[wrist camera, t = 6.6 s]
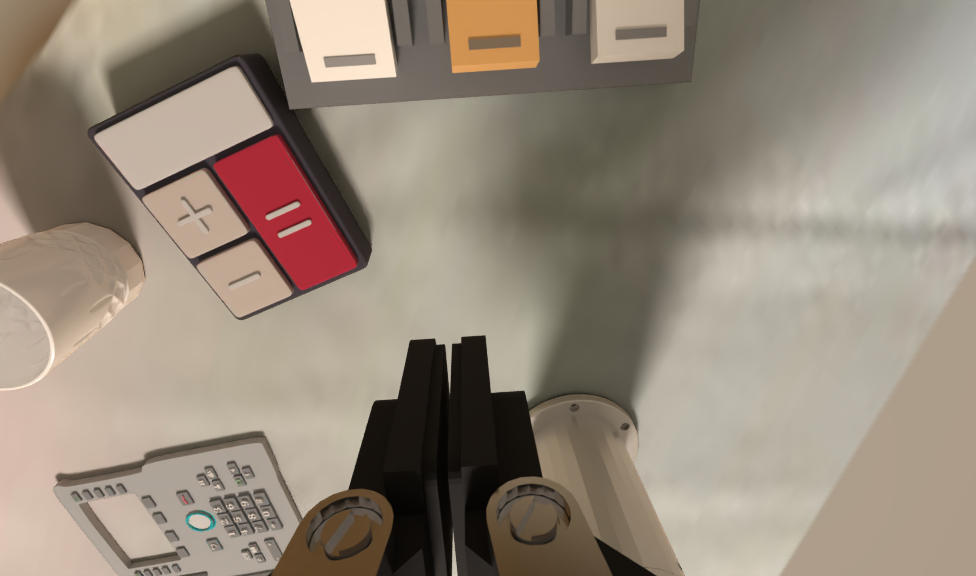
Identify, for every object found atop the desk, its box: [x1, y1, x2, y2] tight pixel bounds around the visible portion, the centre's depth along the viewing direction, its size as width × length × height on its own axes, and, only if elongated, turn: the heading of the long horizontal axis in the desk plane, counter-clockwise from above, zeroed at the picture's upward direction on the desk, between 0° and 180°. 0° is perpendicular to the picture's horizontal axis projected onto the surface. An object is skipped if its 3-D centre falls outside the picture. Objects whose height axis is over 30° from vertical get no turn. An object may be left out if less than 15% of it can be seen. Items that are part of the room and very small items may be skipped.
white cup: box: [0, 222, 145, 390], centre depth 31 cm, size 8×8×10 cm
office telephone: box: [53, 437, 302, 576], centre depth 47 cm, size 23×3×20 cm
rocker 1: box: [290, 0, 398, 82], centre depth 25 cm, size 5×6×2 cm
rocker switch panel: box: [265, 0, 700, 109], centre depth 28 cm, size 25×9×5 cm, turn 93°
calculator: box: [88, 54, 372, 320], centre depth 32 cm, size 11×4×15 cm
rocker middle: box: [446, 0, 540, 73], centre depth 26 cm, size 5×6×2 cm
